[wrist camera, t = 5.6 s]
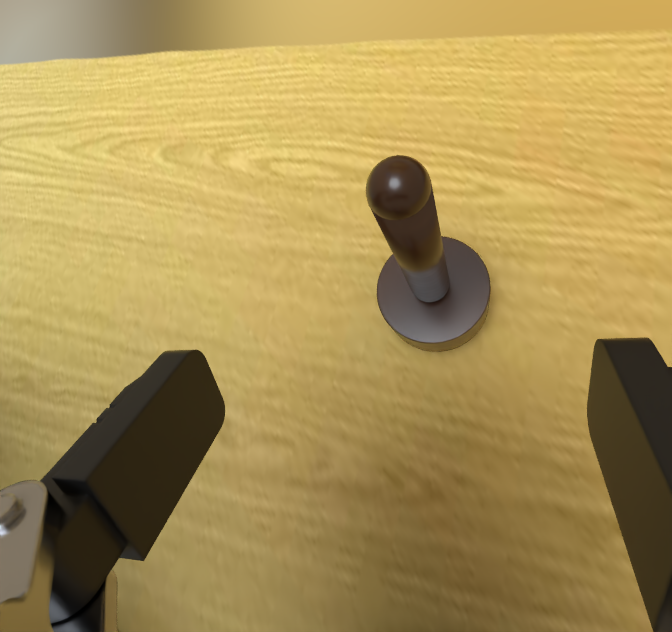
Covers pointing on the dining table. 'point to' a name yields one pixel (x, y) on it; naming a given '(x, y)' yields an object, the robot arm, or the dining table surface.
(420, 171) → the wax seal stamp
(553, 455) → the dining table surface
